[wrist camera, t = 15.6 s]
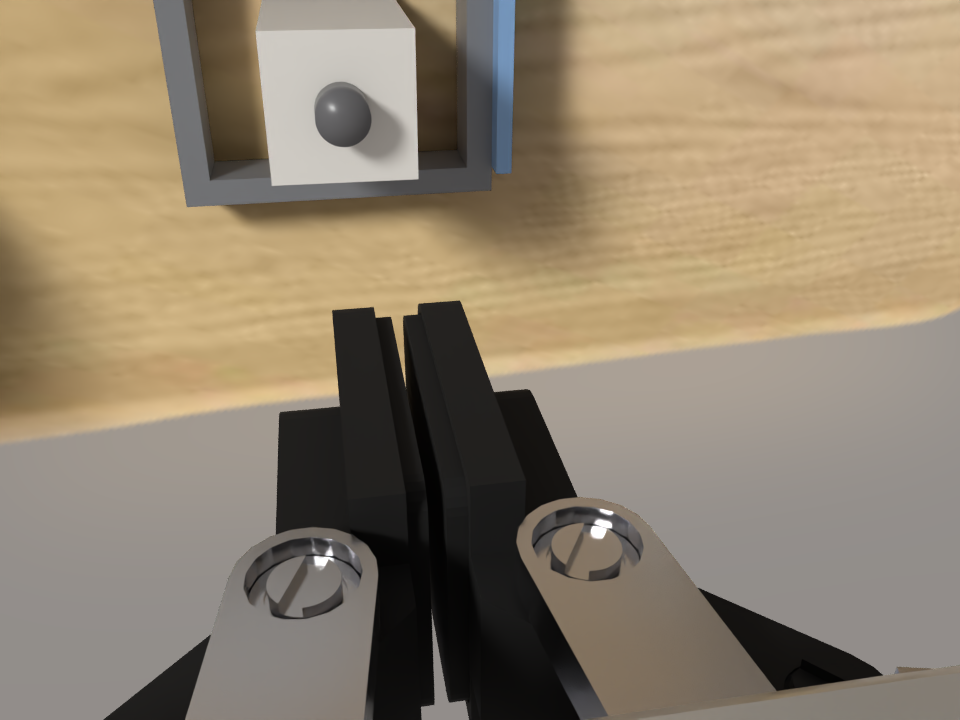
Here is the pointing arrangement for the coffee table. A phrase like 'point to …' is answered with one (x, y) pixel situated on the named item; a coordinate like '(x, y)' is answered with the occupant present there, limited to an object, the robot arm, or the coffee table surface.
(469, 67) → the divided sorting tray
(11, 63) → the coffee table surface
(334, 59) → the plug
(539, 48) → the coffee table surface
